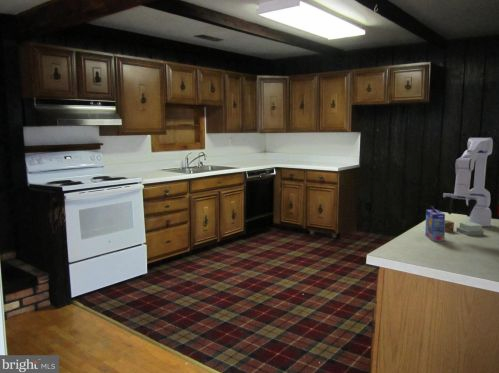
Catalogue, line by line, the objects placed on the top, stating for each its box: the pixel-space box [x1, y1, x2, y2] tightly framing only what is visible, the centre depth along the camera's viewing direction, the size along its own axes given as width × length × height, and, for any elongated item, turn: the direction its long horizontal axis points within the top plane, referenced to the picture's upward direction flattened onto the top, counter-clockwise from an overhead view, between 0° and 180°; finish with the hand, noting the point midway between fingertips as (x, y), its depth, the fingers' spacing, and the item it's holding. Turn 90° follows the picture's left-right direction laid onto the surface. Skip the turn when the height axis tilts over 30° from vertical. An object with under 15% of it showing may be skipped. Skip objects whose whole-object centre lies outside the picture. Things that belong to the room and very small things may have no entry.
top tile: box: [459, 221, 483, 231], centre depth 190 cm, size 6×6×2 cm
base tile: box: [456, 226, 485, 237], centre depth 191 cm, size 8×8×2 cm
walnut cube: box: [445, 219, 455, 233], centre depth 196 cm, size 4×4×4 cm
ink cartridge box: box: [425, 205, 446, 242], centre depth 182 cm, size 10×6×14 cm, turn 174°
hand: (459, 215), depth 181 cm, fingers open, 7 cm apart
